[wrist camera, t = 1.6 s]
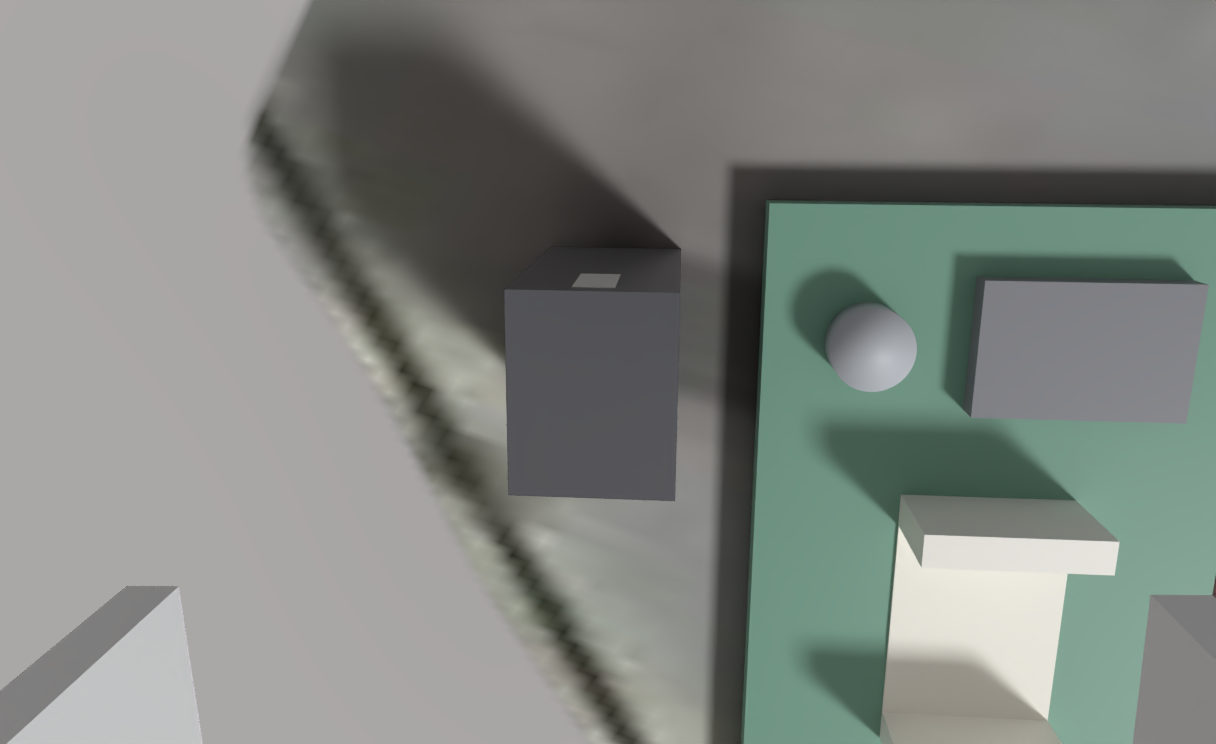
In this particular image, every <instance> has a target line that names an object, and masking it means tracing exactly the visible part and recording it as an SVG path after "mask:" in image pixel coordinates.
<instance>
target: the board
mask: <svg viewBox="0 0 1216 744" xmlns="http://www.w3.org/2000/svg"><path fill="white" fill-rule="evenodd" d="M1215 576H1216V206H1193V205H1113V204H1033V203H952V202H872V201H792V200H766V213H765V235H764V256H763V277H762V299H761V320H760V341H759V362H758V384H757V405H756V426H755V448H754V469H753V490H752V512H751V533H750V554H749V576H748V597H747V618H746V640H745V661H744V682H743V703H742V725H741V744H1133V736H1134V728H1135V719H1136V711H1137V703H1138V694H1139V686H1140V677H1141V669H1142V661H1143V652H1144V644H1145V636H1146V627H1147V619H1148V611H1149V602H1150V595H1212V593H1213V587H1214V582H1215Z"/></svg>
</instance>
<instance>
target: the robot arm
mask: <svg viewBox="0 0 1216 744" xmlns="http://www.w3.org/2000/svg"><path fill="white" fill-rule="evenodd" d="M0 744H203V742H202V735H201V729H200V722H199V717H198V710H197V703H196V696H195V690H194V683H193V677H192V671H191V664H190V657H189V651H188V645H187V638H186V632H185V625H184V618H183V612H182V605H181V599H180V592H179V587H174V586H170V587H169V586H126V587H125V588H124V589H122V590H121V591H120V592H119V593H118V594H116V595H115V596H114V597H113V598H112V599H110V600H109V601H108V602H107V603H106V604H104V605H103V606H102V607H101V608H100V609H98V610H97V611H96V612H95V613H94V614H92V615H91V616H90V617H89V618H87V619H86V620H85V621H84V622H83V623H81V624H80V625H79V626H78V627H77V628H75V629H74V630H73V631H72V632H71V633H69V634H68V635H67V636H66V637H65V638H63V639H62V640H61V641H60V642H59V643H57V644H56V645H55V646H54V647H52V648H51V649H50V650H49V651H48V652H46V653H45V654H44V655H43V656H42V657H40V658H39V659H38V660H37V661H36V662H34V663H33V664H32V665H31V666H30V667H28V668H27V669H26V670H25V671H24V672H22V673H21V674H20V675H19V676H17V677H16V678H15V679H14V680H13V681H11V682H10V683H9V684H8V685H7V686H5V687H4V688H3V689H2V690H1V691H0ZM1133 744H1216V598H1215V597H1214V596H1213V595H1150V602H1149V611H1148V619H1147V627H1146V636H1145V644H1144V652H1143V661H1142V669H1141V677H1140V686H1139V694H1138V703H1137V711H1136V719H1135V728H1134V736H1133Z"/></svg>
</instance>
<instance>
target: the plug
mask: <svg viewBox="0 0 1216 744" xmlns="http://www.w3.org/2000/svg"><path fill="white" fill-rule="evenodd" d="M680 280H681V249H659V248H597V247H550V248H549V249H548V250H547V251H546V252H544V253H543V254H542V255H541V256H540V257H539V258H538V259H537V260H536V261H535V262H534V263H532V264H531V265H530V266H529V267H528V268H527V269H526V270H525V271H524V272H523V273H522V274H521V275H519V276H518V277H517V278H516V279H515V280H514V281H513V282H512V283H511V284H510V285H509V286H507V287H506V288H505V289H504V304H505V354H506V403H507V453H508V495H516V496H545V497H574V498H603V499H632V500H661V501H675V480H676V441H677V402H678V363H679V325H680Z"/></svg>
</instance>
